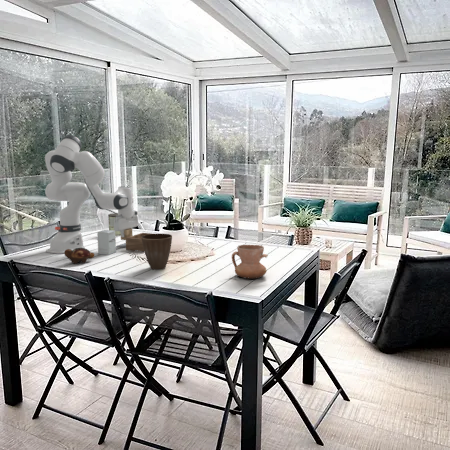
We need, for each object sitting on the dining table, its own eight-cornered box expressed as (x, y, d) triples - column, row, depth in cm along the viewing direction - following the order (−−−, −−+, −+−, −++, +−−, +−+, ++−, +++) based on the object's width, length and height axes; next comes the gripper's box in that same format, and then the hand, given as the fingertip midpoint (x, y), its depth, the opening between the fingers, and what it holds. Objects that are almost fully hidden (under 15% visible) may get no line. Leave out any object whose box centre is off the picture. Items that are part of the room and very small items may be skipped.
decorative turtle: (61, 263, 233) (61, 247, 233) (89, 260, 243) (89, 245, 242) (68, 266, 226) (68, 250, 225) (97, 263, 236) (97, 247, 235)
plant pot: (144, 272, 215) (143, 240, 212) (140, 265, 229) (139, 234, 226) (175, 270, 219) (174, 238, 216) (170, 263, 233) (169, 232, 231)
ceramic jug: (273, 275, 211) (273, 245, 209) (260, 282, 198) (260, 251, 196) (239, 270, 220) (239, 242, 218) (224, 277, 207) (224, 247, 205)
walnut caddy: (146, 251, 259) (146, 239, 257) (125, 249, 264) (125, 237, 263) (162, 245, 275) (162, 234, 274) (142, 243, 280) (142, 232, 279)
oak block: (127, 240, 270) (127, 230, 269) (120, 239, 272) (120, 229, 271) (132, 238, 274) (132, 229, 273) (125, 238, 276) (125, 228, 275)
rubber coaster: (128, 248, 268) (128, 247, 268) (116, 246, 272) (116, 245, 272) (137, 245, 277) (137, 244, 276) (125, 243, 280) (125, 242, 280)
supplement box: (109, 255, 251) (108, 232, 249) (97, 254, 254) (96, 231, 251) (116, 252, 258) (115, 230, 256) (105, 251, 260) (104, 229, 258)
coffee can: (106, 234, 311) (105, 214, 308) (120, 232, 317) (119, 212, 315) (113, 236, 303) (112, 215, 301) (127, 234, 309) (126, 214, 307)
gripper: (119, 216, 260) (120, 239, 262) (139, 211, 278) (140, 233, 281) (110, 215, 262) (111, 238, 265) (131, 211, 281) (131, 232, 283)
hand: (126, 236), depth 273 cm, fingers closed on oak block, 5 cm apart
